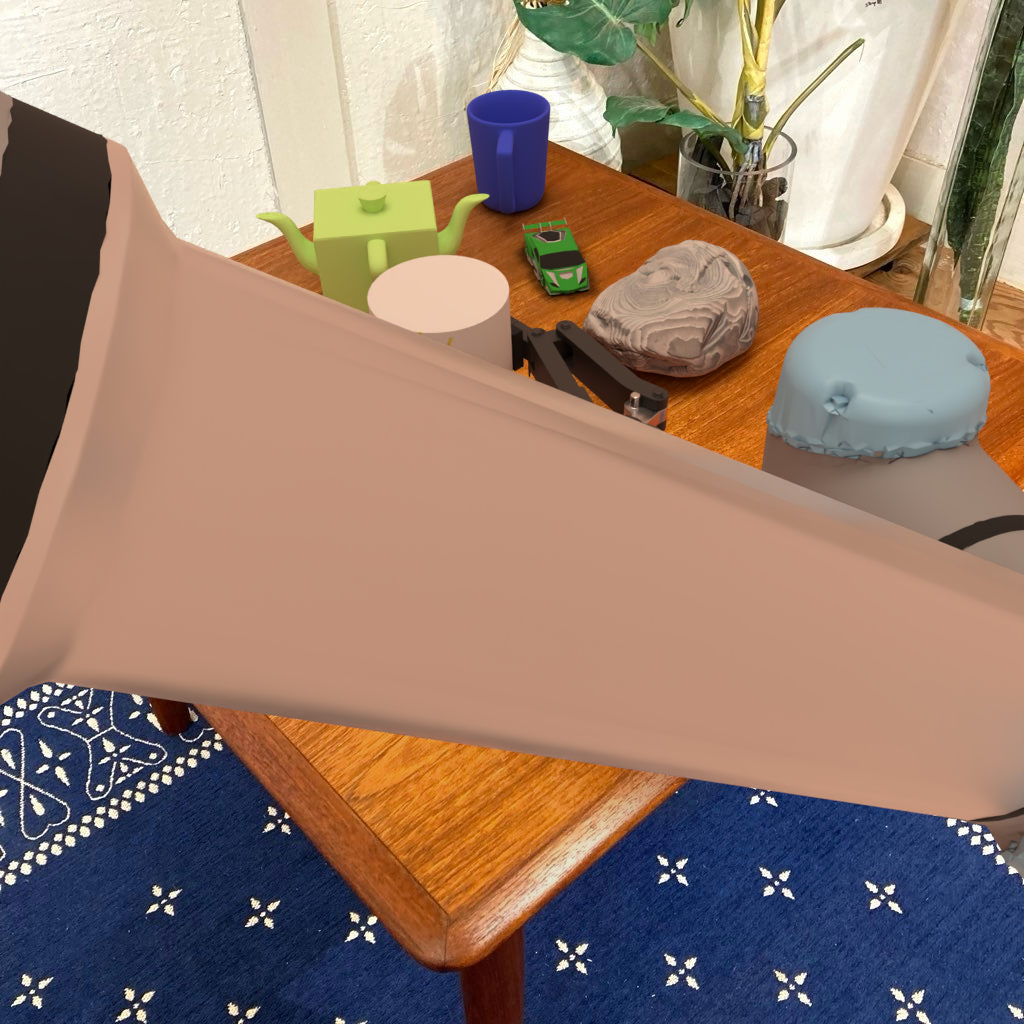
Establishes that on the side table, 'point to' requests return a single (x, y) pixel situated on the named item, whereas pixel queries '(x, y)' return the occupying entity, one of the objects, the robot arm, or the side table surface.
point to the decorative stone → (678, 311)
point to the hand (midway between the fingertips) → (398, 336)
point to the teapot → (371, 234)
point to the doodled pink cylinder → (448, 304)
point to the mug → (509, 147)
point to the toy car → (556, 258)
